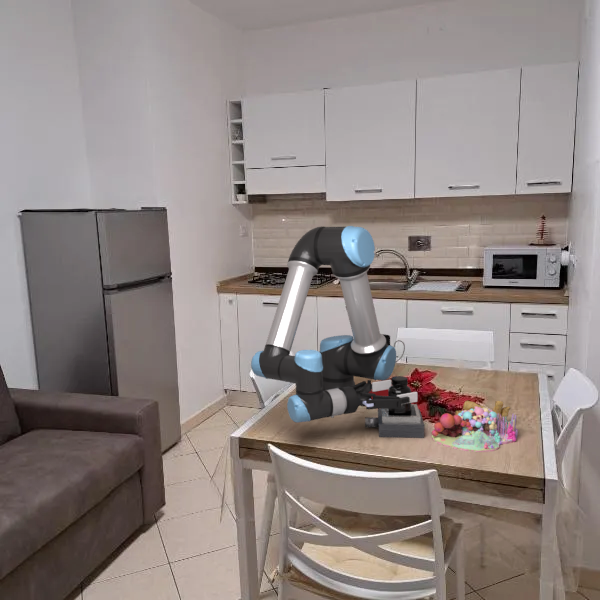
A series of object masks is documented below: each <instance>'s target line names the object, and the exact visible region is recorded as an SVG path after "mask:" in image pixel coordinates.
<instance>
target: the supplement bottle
mask: <svg viewBox="0 0 600 600" xmlns="http://www.w3.org/2000/svg"><path fill="white" fill-rule="evenodd" d="M390 380H391V386H390V387H389V389H387V390H388V391H387V392H388V393H387V396H394V397H397V395H401V394H407V393H412V390H411V389H412V388H410V386H409V383H408V381H409V378H408V377H406V376H402V375H398V376H397V375H396V376H392V377H391V379H390ZM411 404H412V403H407V404H402V405H401V408H400V409H388V412H389V415H396V416H411Z"/></svg>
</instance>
